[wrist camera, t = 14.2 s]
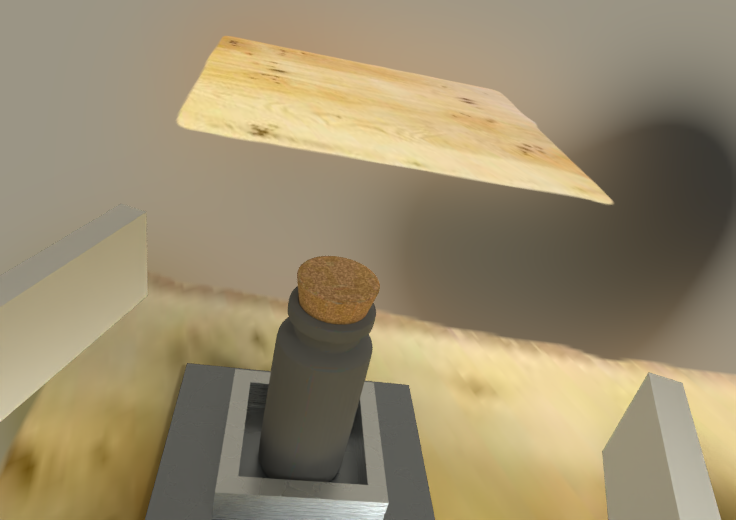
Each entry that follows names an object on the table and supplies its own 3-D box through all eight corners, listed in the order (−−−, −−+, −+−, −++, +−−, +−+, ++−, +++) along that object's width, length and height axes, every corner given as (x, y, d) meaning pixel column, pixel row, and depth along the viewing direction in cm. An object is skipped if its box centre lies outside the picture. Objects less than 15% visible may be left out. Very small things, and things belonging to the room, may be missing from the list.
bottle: (340, 426, 43) (384, 257, 36) (343, 495, 38) (395, 315, 31) (261, 419, 42) (289, 243, 35) (253, 489, 37) (284, 301, 30)
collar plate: (405, 395, 49) (416, 362, 47) (440, 584, 36) (457, 549, 34) (186, 374, 46) (188, 338, 44) (133, 573, 33) (133, 534, 31)
